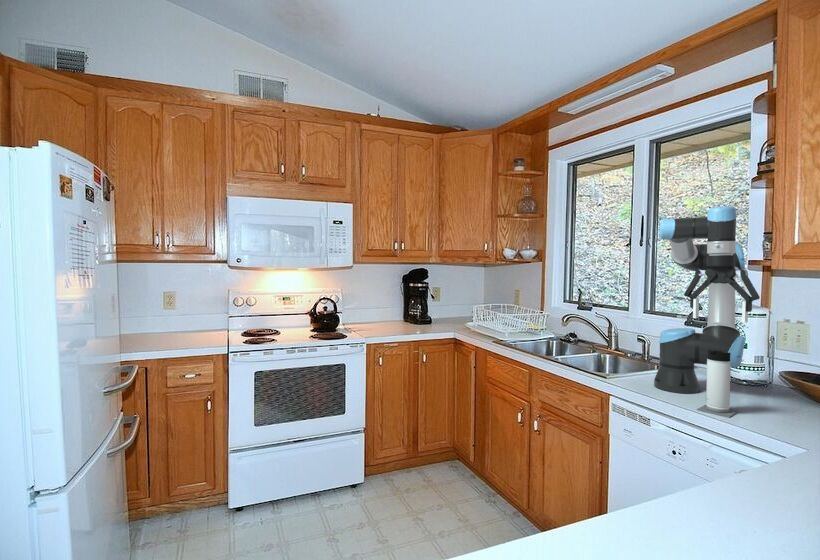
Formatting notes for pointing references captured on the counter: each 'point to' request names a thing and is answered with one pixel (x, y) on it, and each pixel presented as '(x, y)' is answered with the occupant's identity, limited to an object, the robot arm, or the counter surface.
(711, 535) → the counter surface
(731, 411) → the rubber mat
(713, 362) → the travel mug
